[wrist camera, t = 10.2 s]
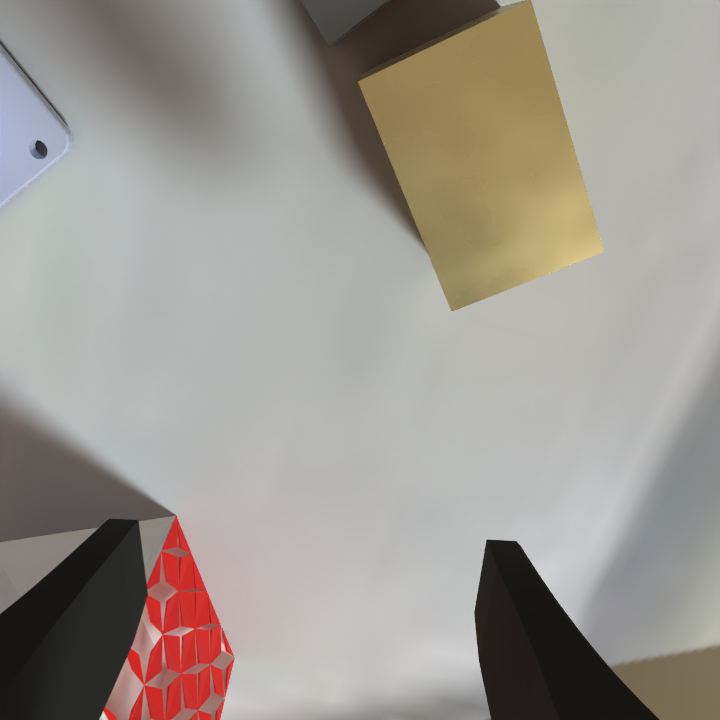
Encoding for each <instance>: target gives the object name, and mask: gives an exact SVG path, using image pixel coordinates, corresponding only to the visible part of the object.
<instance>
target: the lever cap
mask: <svg viewBox="0 0 720 720" xmlns="http://www.w3.org/2000/svg"><path fill="white" fill-rule="evenodd" d="M358 83H359V86H360V88H361V91H362V93H363V96H364V98H365V101H366V103H367V105H368V108H369V110H370V113H371V115H372V118H373V120H374V123H375V125H376V127H377V130H378V132H379V135H380V137H381V140H382V142H383V145H384V147H385V149H386V152H387V154H388V157H389V159H390V162H391V164H392V167H393V169H394V171H395V174H396V176H397V179H398V181H399V184H400V186H401V189H402V191H403V193H404V196H405V198H406V201H407V203H408V206H409V208H410V211H411V213H412V216H413V218H414V220H415V223H416V225H417V228H418V230H419V233H420V235H421V238H422V240H423V242H424V245H425V247H426V250H427V252H428V255H429V257H430V260H431V262H432V264H433V267H434V269H435V272H436V274H437V277H438V279H439V282H440V284H441V286H442V289H443V291H444V294H445V296H446V299H447V301H448V304H449V306H450V308H451V311H454V310H457V309H459V308H462V307H465V306H467V305H470V304H472V303H475V302H477V301H480V300H482V299H485V298H488V297H490V296H493V295H495V294H498V293H500V292H503V291H506V290H508V289H511V288H513V287H516V286H518V285H521V284H523V283H526V282H529V281H531V280H534V279H536V278H539V277H541V276H544V275H546V274H549V273H552V272H554V271H557V270H559V269H562V268H564V267H567V266H570V265H572V264H575V263H577V262H580V261H582V260H585V259H587V258H590V257H593V256H595V255H598V254H600V253H603V252H604V249H603V246H602V242H601V239H600V235H599V232H598V228H597V225H596V222H595V218H594V215H593V211H592V208H591V204H590V201H589V198H588V194H587V191H586V187H585V184H584V180H583V177H582V174H581V170H580V167H579V163H578V160H577V156H576V153H575V150H574V146H573V143H572V139H571V136H570V132H569V129H568V126H567V122H566V119H565V115H564V112H563V108H562V105H561V102H560V98H559V95H558V91H557V88H556V84H555V81H554V78H553V74H552V71H551V67H550V64H549V60H548V57H547V54H546V50H545V47H544V43H543V40H542V36H541V33H540V30H539V26H538V23H537V19H536V16H535V12H534V9H533V6H532V2H531V0H525V1H521V2H518V3H514V4H510V5H506V6H502V7H499V8H497V9H495V10H493V11H491V12H489V13H487V14H485V15H483V16H480V17H478V18H476V19H474V20H472V21H470V22H468V23H466V24H464V25H462V26H460V27H458V28H455V29H453V30H451V31H449V32H447V33H445V34H443V35H441V36H439V37H437V38H435V39H432V40H430V41H428V42H426V43H424V44H422V45H420V46H418V47H416V48H414V49H412V50H410V51H407V52H405V53H403V54H401V55H399V56H397V57H395V58H393V59H391V60H389V61H387V62H384V63H382V64H380V65H378V66H376V67H374V68H372V69H370V70H368V71H366V72H364V73H362V74H361V76H360V78H359V80H358Z"/></svg>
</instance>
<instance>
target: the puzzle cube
mask: <svg viewBox="0 0 720 720" xmlns="http://www.w3.org/2000/svg"><path fill="white" fill-rule="evenodd" d="M98 528H99V527H97V528H90V529H84V530H77V531H71V532H64V533H57V534H51V535H44V536H37V537H31V538H24V539H18V540H11V541H4V542H0V614H1V613H2V612H3V611H4V610H6V609H7V608H8V607H9V606H11V605H12V604H13V603H14V602H16V601H17V600H18V599H19V598H21V597H22V596H23V595H24V594H25V593H27V592H28V591H29V590H30V589H31V588H32V587H33V586H35V585H36V584H37V583H38V582H39V581H40V580H42V579H43V578H44V577H45V576H46V575H47V574H48V573H50V572H51V571H52V570H53V569H54V568H55V567H56V566H58V565H59V564H60V563H61V562H62V561H63V560H64V559H65V558H66V557H67V556H69V555H70V554H71V553H72V552H73V551H74V550H75V549H76V548H77V547H78V546H80V545H81V544H82V543H83V542H84V541H85V540H86V539H87V538H88V537H89V536H90V535H91V534H93V533H94V532H95V531H96V530H97V529H98ZM139 528H140V535H141V543H142V551H143V559H144V567H145V575H146V583H147V591H148V596H147V599H146V602H145V606H144V609H143V613H142V616H141V620H140V623H139V626H138V629H137V632H136V635H135V639H134V642H133V644H132V646H131V649H130V651H129V654H128V656H127V658H126V660H125V663H124V665H123V667H122V670H121V672H120V674H119V676H118V679H117V681H116V683H115V685H114V688H113V690H112V692H111V694H110V697H109V699H108V701H107V703H106V706H105V708H104V710H103V712H102V715H101V717H100V719H99V720H220V717H221V713H222V709H223V705H224V700H225V696H226V692H227V688H228V683H229V679H230V675H231V671H232V666H233V662H234V657H233V653H232V651H231V648H230V646H229V643H228V641H227V638H226V636H225V634H224V631H223V629H222V628H221V625H220V622H219V620H218V617H217V615H216V613H215V610H214V608H213V605H212V603H211V600H210V598H209V595H208V593H207V591H206V588H205V586H204V583H203V581H202V578H201V576H200V573H199V571H198V568H197V566H196V564H195V561H194V559H193V556H192V554H191V551H190V549H189V546H188V544H187V541H186V539H185V537H184V534H183V532H182V529H181V527H180V524H179V522H178V519H177V516H170V517H163V518H157V519H150V520H143V521H139Z"/></svg>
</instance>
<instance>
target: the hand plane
mask: <svg viewBox="0 0 720 720" xmlns="http://www.w3.org/2000/svg"><path fill="white" fill-rule="evenodd" d="M300 1H301V2H302V4H303V5H304V7H305V9H306V10H307V12H308V13H309V15H310V17H311V18H312V20H313V21H314V23H315V25H316V26H317V28H318V29H319V31H320V33H321V34H322V36H323V37H324V39H325V40H326V42H327V44H328V45H334V44H336V43H337V42H339V41H340V40H341V39H343V38H344V37H345V36H347V35H348V34H349V33H351V32H352V31H353V30H355V29H356V28H357V27H359V26H360V25H361V24H362V23H364V22H365V21H366V20H368V19H369V18H370V17H372V16H373V15H374V14H376V13H377V12H378V11H380V10H381V9H382V8H384V7H385V6H386V5H387V4H389V3H390V2H391V1H393V0H300Z"/></svg>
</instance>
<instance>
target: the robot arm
mask: <svg viewBox="0 0 720 720" xmlns="http://www.w3.org/2000/svg"><path fill="white" fill-rule="evenodd" d="M37 140H39V141H41V142H43V143H44V144H45V146H46V147H47V156H46V157H43V156H41V155H40V154H39V153H38V152H37V150H36V148H35V143H36V142H37ZM73 142H74V141H73V135H72V133H71V131H70V129H69V128H68V126H67V125H66V124H65V123H64V122H63V120H62V119H61V118H60V117H59V115H58V114H57V113H56V112H55V111H54V109H53V108H52V107H51V106H50V104H49V103H48V102H47V101H46V99H45V98H44V97H43V96H42V95H41V93H40V92H39V91H38V90H37V88H36V87H35V86H34V85H33V84H32V82H31V81H30V80H29V79H28V77H27V76H26V75H25V74H24V73H23V71H22V70H21V69H20V68H19V66H18V65H17V64H16V63H15V62H14V60H13V59H12V58H11V57H10V55H9V54H8V53H7V52H6V51H5V49H4V48H3V47H2V46H1V44H0V208H1V207H2V206H4V205H5V204H6V203H7V202H9V201H10V200H11V199H12V198H13V197H15V196H16V195H17V194H18V193H20V192H21V191H22V190H23V189H25V188H26V187H27V186H28V185H29V184H31V183H32V182H33V181H34V180H36V179H37V178H38V177H39V176H41V175H42V174H43V173H44V172H45V171H47V170H48V169H49V168H50V167H52V166H53V165H54V164H55V163H57V162H58V161H59V160H60V159H61V158H63V157H64V156H65V155H66V154H68V153H69V151H70V150H71V149H72V147H73ZM147 596H148V591H147V583H146V575H145V567H144V559H143V551H142V543H141V535H140V528H139V520H123V519H108V520H107V521H106V522H105V523H104V524H103V525H102V526H100V527H99V528H98V529H97V530H96V531H95V532H94V533H93V534H91V535H90V536H89V537H88V538H87V539H86V540H85V541H84V542H83V543H82V544H81V545H80V546H78V547H77V548H76V549H75V550H74V551H73V552H72V553H71V554H70V555H69V556H67V557H66V558H65V559H64V560H63V561H62V562H61V563H60V564H59V565H58V566H56V567H55V568H54V569H53V570H52V571H51V572H50V573H48V574H47V575H46V576H45V577H44V578H43V579H42V580H40V581H39V582H38V583H37V584H36V585H35V586H33V587H32V588H31V589H30V590H29V591H28V592H27V593H25V594H24V595H23V596H22V597H21V598H19V599H18V600H17V601H16V602H14V603H13V604H12V605H11V606H9V607H8V608H7V609H6V610H4V611H3V612H2V613H1V614H0V720H99V719H100V717H101V715H102V712H103V710H104V708H105V706H106V703H107V701H108V699H109V697H110V694H111V692H112V690H113V688H114V685H115V683H116V681H117V679H118V676H119V674H120V672H121V670H122V667H123V665H124V663H125V660H126V658H127V656H128V654H129V651H130V649H131V646H132V644H133V642H134V639H135V635H136V632H137V629H138V626H139V623H140V620H141V616H142V613H143V609H144V606H145V602H146V599H147ZM474 613H475V624H476V635H477V645H478V655H479V663H480V668H481V673H482V677H483V682H484V687H485V692H486V696H487V701H488V706H489V710H490V715H491V720H659V719H658V718H657V717H656V716H655V715H654V714H653V713H652V712H651V711H650V710H649V709H648V708H647V707H646V706H645V705H644V704H643V703H642V702H641V701H640V700H639V699H638V698H637V697H636V696H635V695H634V693H633V692H632V691H631V690H630V689H629V688H628V687H627V686H626V685H625V684H624V683H623V682H622V681H621V680H620V679H619V677H618V676H617V675H616V674H615V673H614V672H613V671H612V670H611V668H610V667H609V666H608V665H607V664H606V663H605V662H604V660H603V659H602V658H601V657H600V656H599V654H598V653H597V652H596V651H595V650H594V648H593V647H592V646H591V645H590V643H589V642H588V641H587V640H586V638H585V637H584V636H583V635H582V633H581V632H580V631H579V630H578V628H577V627H576V626H575V624H574V623H573V622H572V620H571V619H570V618H569V616H568V615H567V614H566V612H565V611H564V610H563V608H562V607H561V606H560V604H559V603H558V601H557V600H556V599H555V597H554V596H553V594H552V593H551V592H550V590H549V589H548V587H547V586H546V584H545V583H544V581H543V580H542V578H541V577H540V575H539V574H538V572H537V571H536V569H535V568H534V566H533V565H532V563H531V562H530V560H529V558H528V557H527V555H526V554H525V552H524V551H523V549H522V547H521V546H520V545H519V544H518V543H517V541H503V540H487V541H486V547H485V553H484V559H483V565H482V571H481V577H480V583H479V588H478V594H477V600H476V606H475V612H474Z"/></svg>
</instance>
